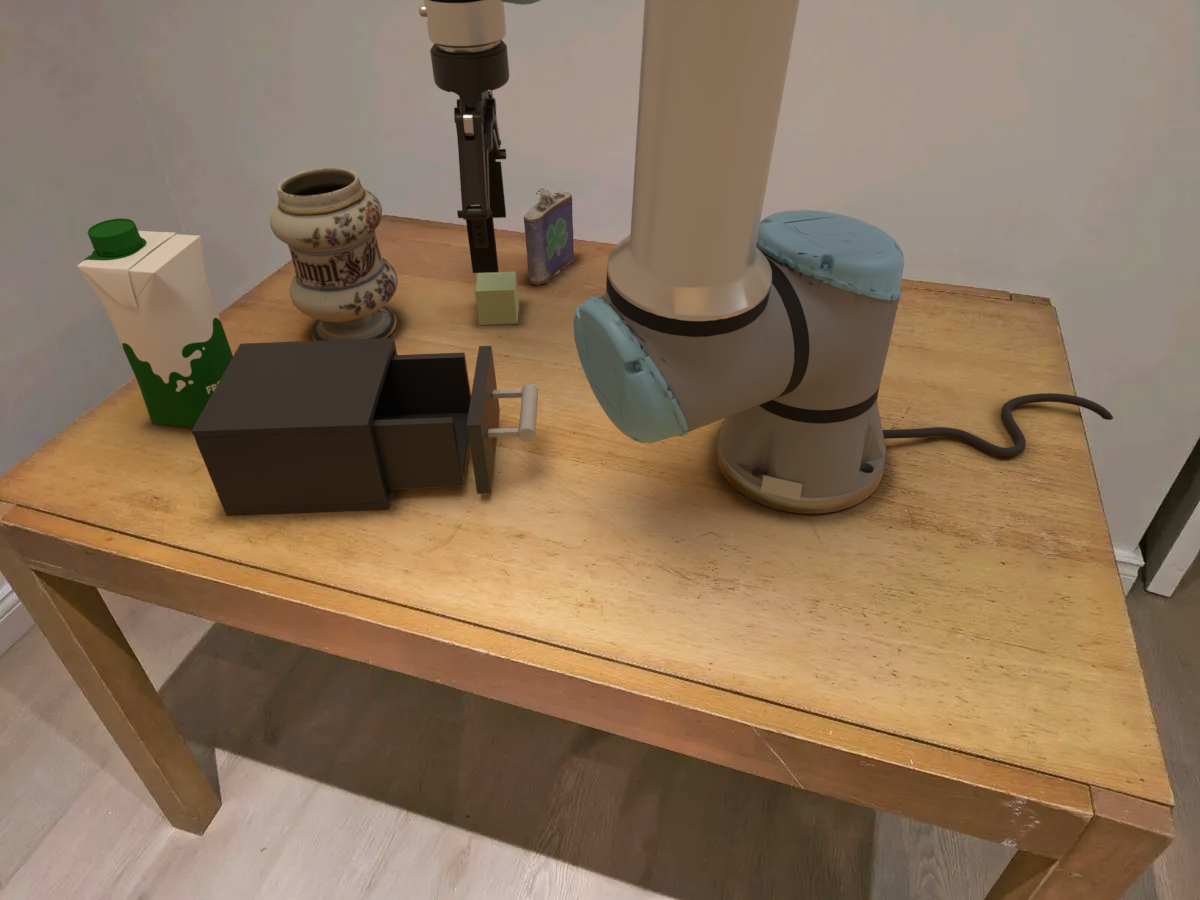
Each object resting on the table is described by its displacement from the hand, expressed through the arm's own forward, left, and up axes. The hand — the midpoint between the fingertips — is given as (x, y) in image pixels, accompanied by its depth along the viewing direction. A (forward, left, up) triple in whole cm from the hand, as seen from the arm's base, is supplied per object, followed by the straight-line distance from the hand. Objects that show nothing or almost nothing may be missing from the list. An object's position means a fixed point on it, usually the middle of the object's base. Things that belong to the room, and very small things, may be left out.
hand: (490, 242), depth 99 cm
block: (0, 0, -9) cm, 9 cm away
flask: (-6, -11, -9) cm, 16 cm away
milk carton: (+30, +17, -9) cm, 36 cm away
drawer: (+3, +27, -8) cm, 29 cm away
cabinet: (+15, +27, -9) cm, 32 cm away
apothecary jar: (+17, +2, -9) cm, 19 cm away
